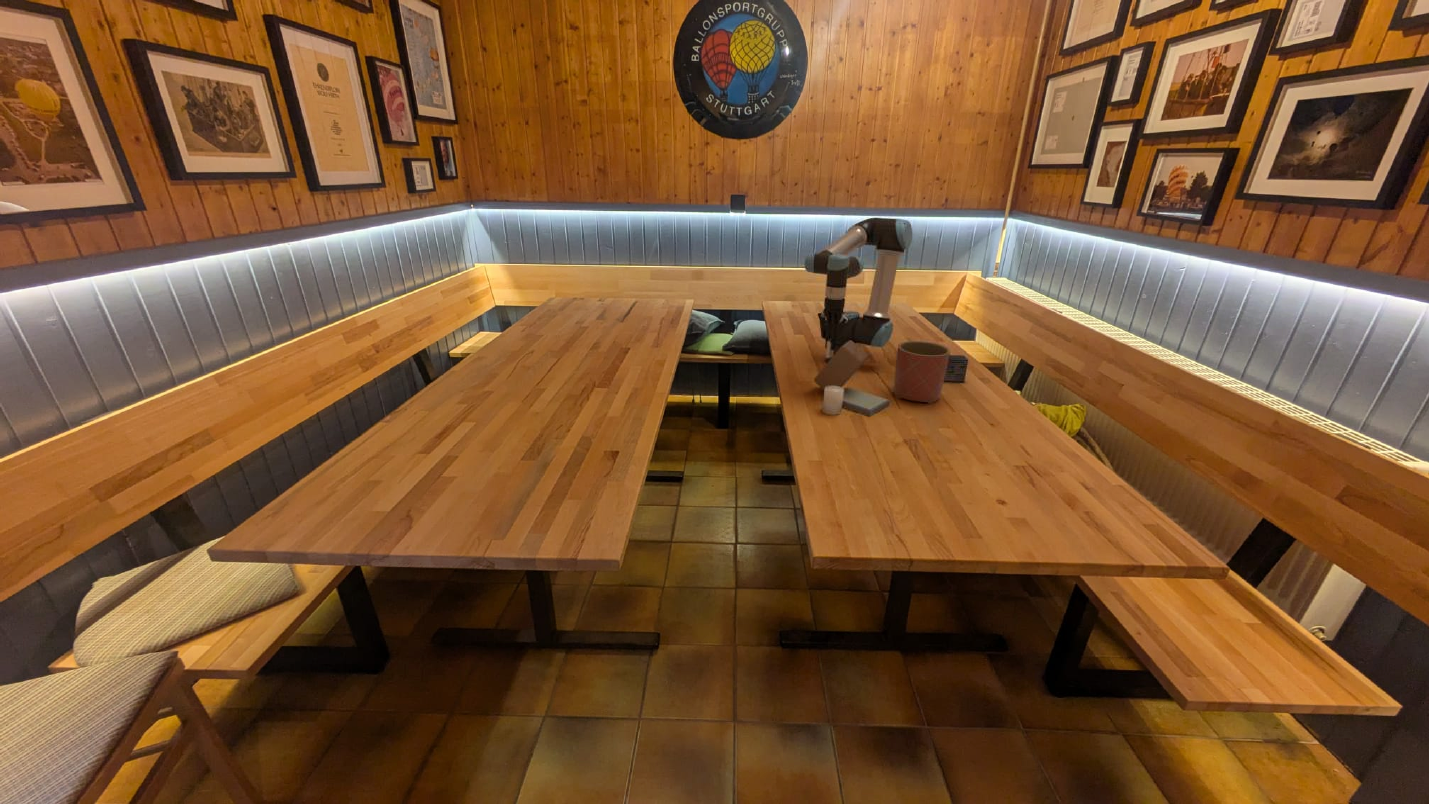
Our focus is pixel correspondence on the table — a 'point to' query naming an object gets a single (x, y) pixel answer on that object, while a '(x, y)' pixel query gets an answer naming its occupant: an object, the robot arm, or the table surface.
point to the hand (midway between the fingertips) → (829, 356)
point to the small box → (956, 369)
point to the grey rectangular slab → (863, 402)
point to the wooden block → (841, 366)
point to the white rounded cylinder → (833, 399)
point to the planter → (920, 370)
